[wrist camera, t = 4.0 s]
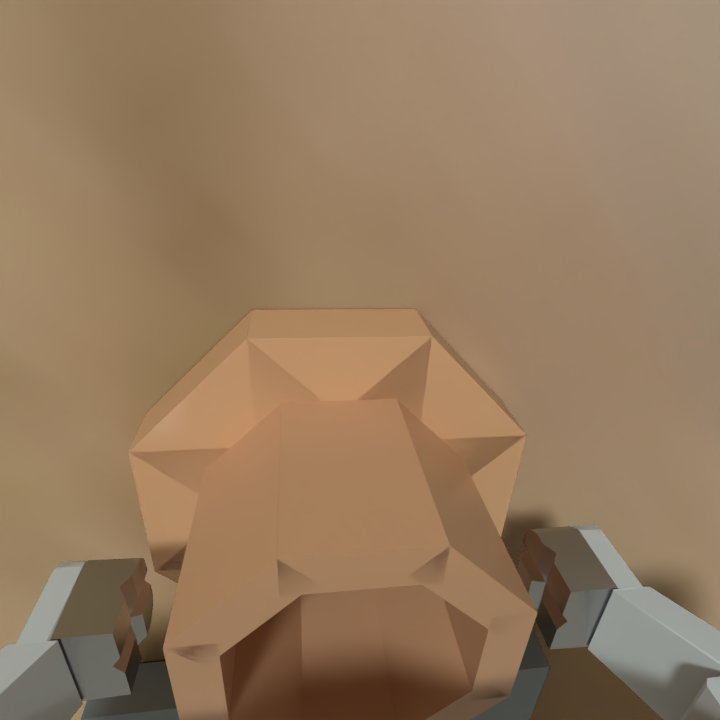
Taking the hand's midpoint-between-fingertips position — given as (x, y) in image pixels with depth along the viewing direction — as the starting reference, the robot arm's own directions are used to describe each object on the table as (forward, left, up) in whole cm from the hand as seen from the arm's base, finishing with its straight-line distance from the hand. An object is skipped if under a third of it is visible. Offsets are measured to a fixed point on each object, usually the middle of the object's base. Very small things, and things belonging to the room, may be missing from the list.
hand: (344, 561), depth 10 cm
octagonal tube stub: (0, 0, -3) cm, 3 cm away
